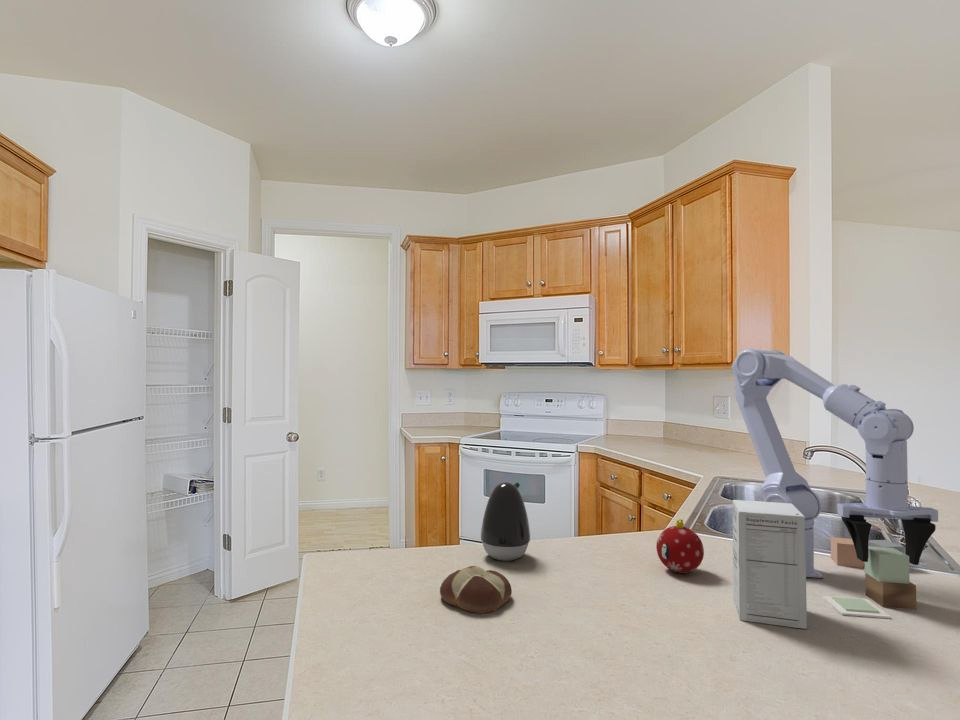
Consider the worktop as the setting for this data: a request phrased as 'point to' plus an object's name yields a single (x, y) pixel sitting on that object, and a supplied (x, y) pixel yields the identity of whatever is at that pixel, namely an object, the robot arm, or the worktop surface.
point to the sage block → (887, 565)
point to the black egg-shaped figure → (505, 523)
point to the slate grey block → (885, 544)
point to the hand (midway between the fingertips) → (887, 561)
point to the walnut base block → (891, 593)
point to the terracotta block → (844, 553)
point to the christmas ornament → (680, 548)
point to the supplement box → (769, 563)
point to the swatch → (855, 607)
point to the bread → (476, 589)
